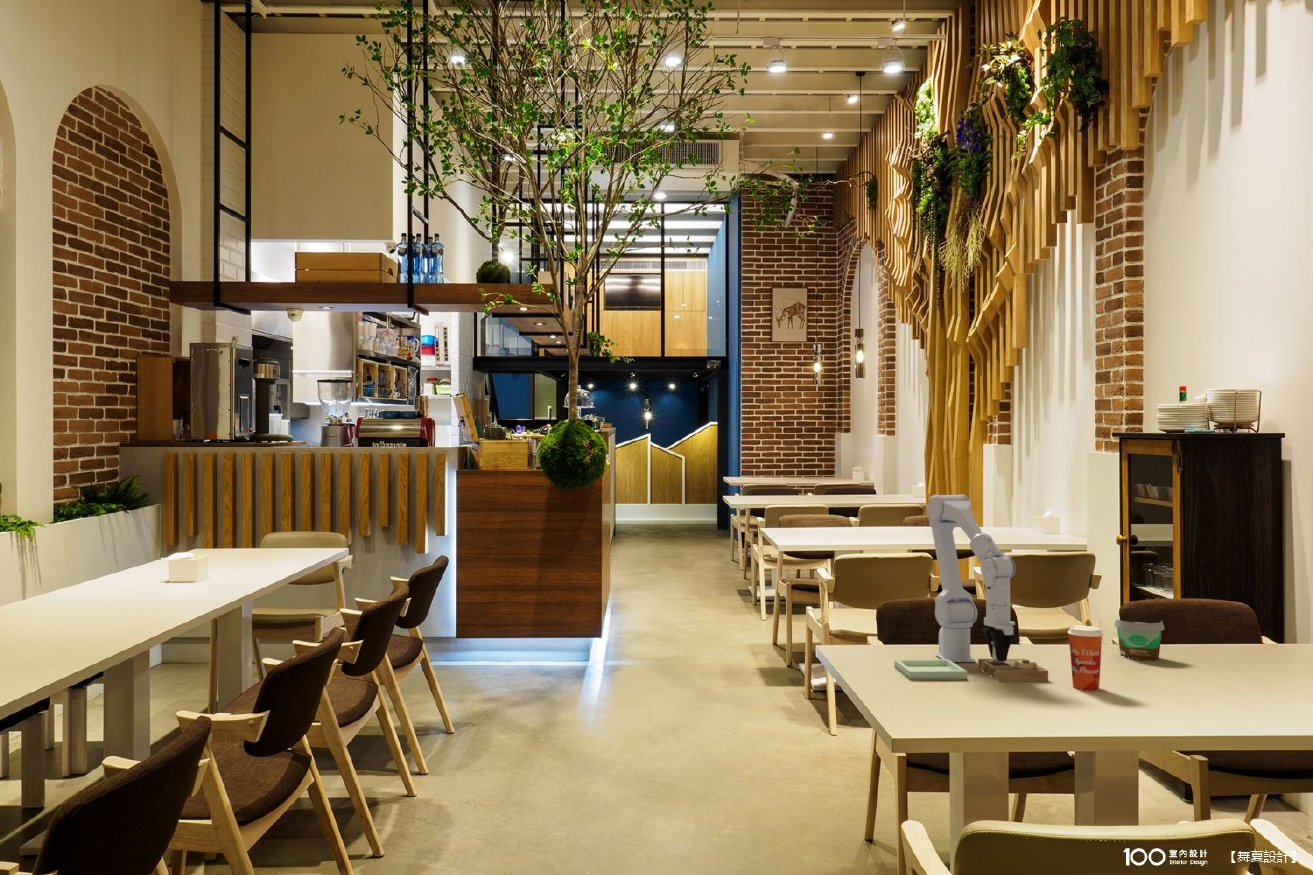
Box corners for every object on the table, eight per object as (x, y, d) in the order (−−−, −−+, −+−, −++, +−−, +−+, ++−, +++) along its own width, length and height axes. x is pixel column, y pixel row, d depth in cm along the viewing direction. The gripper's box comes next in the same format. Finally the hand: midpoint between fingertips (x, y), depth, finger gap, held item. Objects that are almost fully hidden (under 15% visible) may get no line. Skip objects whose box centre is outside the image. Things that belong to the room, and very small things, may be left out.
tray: (894, 667, 248) (894, 659, 248) (948, 667, 248) (948, 659, 248) (909, 679, 234) (909, 671, 234) (967, 679, 234) (967, 671, 234)
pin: (988, 671, 242) (988, 640, 243) (1003, 671, 243) (1002, 639, 243) (994, 674, 239) (993, 642, 239) (1008, 674, 239) (1008, 642, 239)
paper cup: (1066, 689, 224) (1066, 629, 225) (1069, 682, 231) (1069, 624, 231) (1103, 693, 221) (1103, 631, 221) (1105, 686, 228) (1104, 626, 228)
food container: (1118, 659, 257) (1117, 622, 258) (1114, 655, 263) (1114, 618, 263) (1169, 662, 254) (1169, 624, 254) (1164, 658, 260) (1164, 620, 260)
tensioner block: (978, 668, 247) (978, 651, 247) (1024, 668, 247) (1024, 651, 247) (998, 681, 233) (998, 663, 233) (1048, 681, 233) (1047, 663, 233)
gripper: (1025, 608, 234) (1026, 665, 234) (1003, 600, 248) (1003, 652, 248) (996, 608, 234) (997, 665, 233) (975, 600, 248) (976, 653, 248)
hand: (998, 658), depth 241 cm, fingers closed on pin, 3 cm apart
